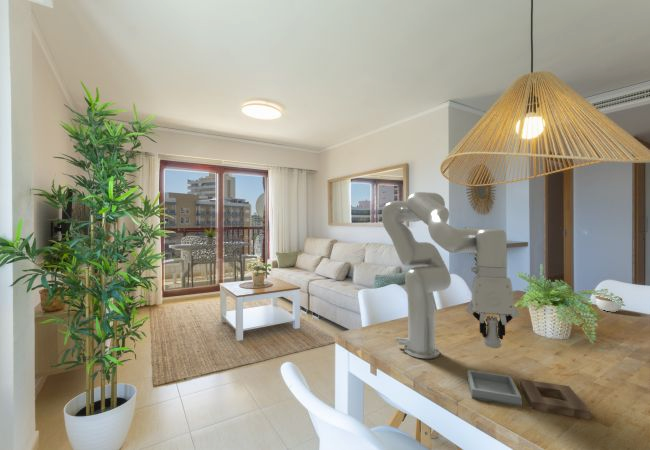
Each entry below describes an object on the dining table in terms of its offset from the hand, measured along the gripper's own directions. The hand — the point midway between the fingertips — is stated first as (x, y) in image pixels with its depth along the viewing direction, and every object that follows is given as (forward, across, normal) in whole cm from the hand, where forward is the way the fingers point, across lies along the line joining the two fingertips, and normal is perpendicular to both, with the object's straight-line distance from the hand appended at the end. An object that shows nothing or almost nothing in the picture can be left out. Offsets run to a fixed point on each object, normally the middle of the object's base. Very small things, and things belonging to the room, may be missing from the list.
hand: (492, 336), depth 84 cm
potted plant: (+16, +74, +110) cm, 134 cm away
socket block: (+16, +14, 0) cm, 21 cm away
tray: (+16, 0, 0) cm, 16 cm away
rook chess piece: (+3, 0, 0) cm, 3 cm away
